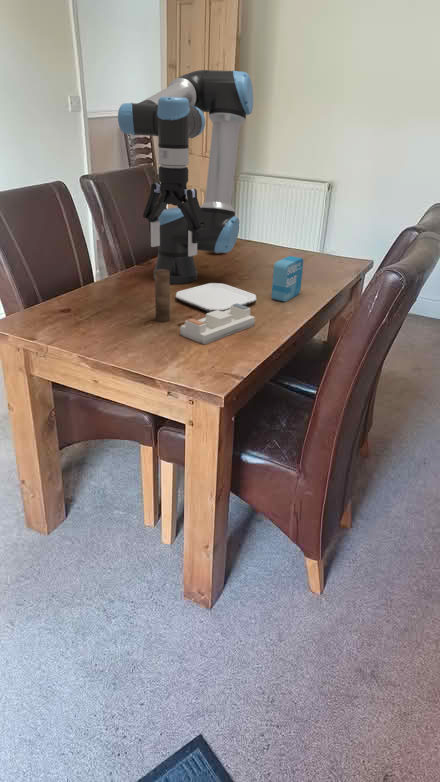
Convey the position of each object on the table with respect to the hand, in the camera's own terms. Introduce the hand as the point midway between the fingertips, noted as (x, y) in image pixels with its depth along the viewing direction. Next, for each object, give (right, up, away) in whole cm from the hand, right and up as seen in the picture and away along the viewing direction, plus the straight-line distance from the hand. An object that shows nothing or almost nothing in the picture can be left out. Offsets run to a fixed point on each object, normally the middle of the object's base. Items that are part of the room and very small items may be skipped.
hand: (173, 250), depth 152 cm
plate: (+11, -10, +24) cm, 29 cm away
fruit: (+12, +17, +75) cm, 77 cm away
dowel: (-4, -17, +8) cm, 20 cm away
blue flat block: (+34, -8, +30) cm, 46 cm away
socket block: (+12, -21, +3) cm, 24 cm away
